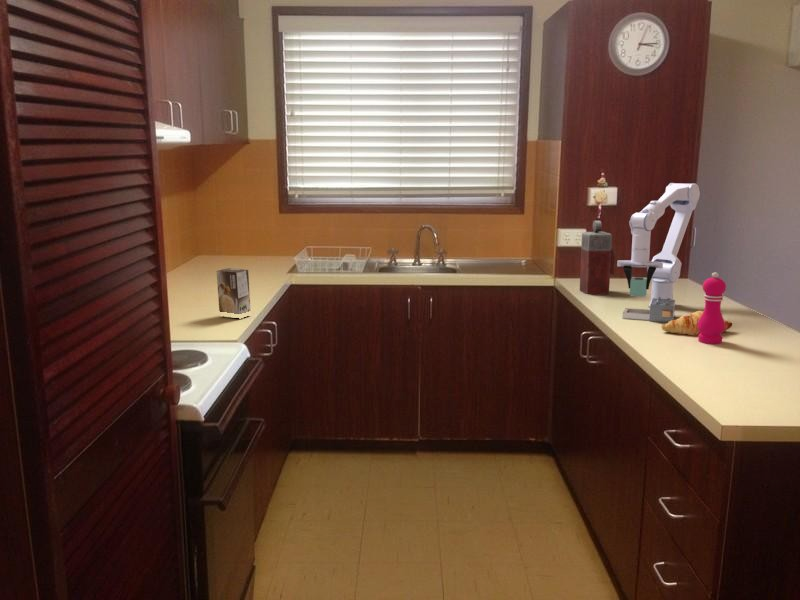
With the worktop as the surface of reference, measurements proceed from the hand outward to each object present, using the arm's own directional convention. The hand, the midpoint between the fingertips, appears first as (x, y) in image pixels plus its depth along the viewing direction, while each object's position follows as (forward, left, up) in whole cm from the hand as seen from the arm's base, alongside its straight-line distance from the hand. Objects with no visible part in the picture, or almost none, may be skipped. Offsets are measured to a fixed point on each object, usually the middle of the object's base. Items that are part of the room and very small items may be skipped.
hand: (638, 288), depth 240 cm
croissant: (+23, +19, -9) cm, 31 cm away
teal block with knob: (0, 0, -2) cm, 2 cm away
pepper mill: (+34, +23, -8) cm, 42 cm away
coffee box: (+57, -125, -8) cm, 137 cm away
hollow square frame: (+9, +4, -8) cm, 13 cm away
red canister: (-32, -18, -8) cm, 38 cm away
